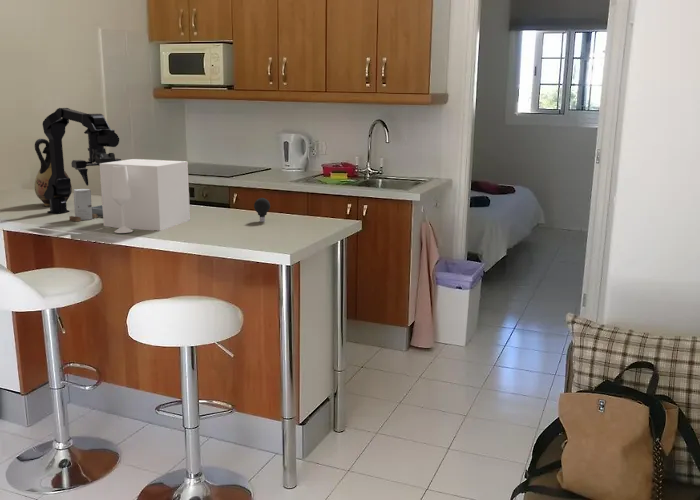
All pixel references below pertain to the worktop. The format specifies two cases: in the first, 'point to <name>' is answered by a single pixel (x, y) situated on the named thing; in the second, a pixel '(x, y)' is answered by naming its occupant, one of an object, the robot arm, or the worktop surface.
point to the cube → (148, 194)
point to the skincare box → (83, 203)
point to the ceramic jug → (44, 172)
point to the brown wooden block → (73, 218)
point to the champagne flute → (121, 193)
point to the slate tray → (97, 210)
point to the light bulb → (262, 208)
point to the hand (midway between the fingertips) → (98, 184)
